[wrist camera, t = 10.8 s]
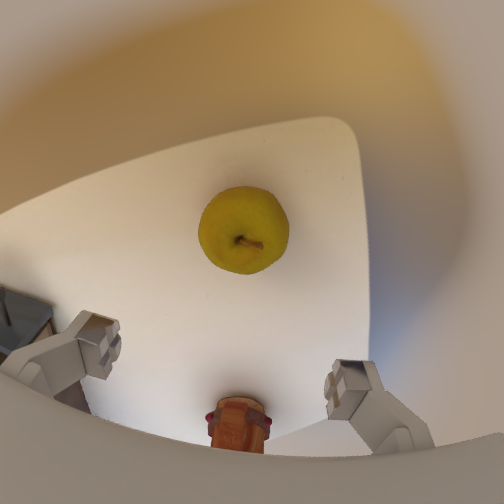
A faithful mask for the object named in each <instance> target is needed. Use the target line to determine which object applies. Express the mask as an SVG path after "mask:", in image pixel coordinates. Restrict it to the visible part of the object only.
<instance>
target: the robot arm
mask: <svg viewBox="0 0 504 504" xmlns="http://www.w3.org/2000/svg"><path fill="white" fill-rule="evenodd" d="M119 330H120V324H119V321H118V320H116V319H113V318H109V317H106V316H103V315H99V314H96V313H92V312H89V311H86V310H83V311H81V312H80V313H79V315H78V316H77V317H76V318H75V319H74V321H73V322H72V323H71V324H70V325H69V327H68V328H67V329H66V330H65V332H64V333H63V334H61V333H58V334H56V335H53V336H50V337H48V338H45V339H43V340H40V341H37V342H35V343H32V344H30V345H27V346H25V347H22V348H19V349H17V350H14V351H12V352H11V354H10V355H9V356H8V357H7V359H6V360H5V361H4V362H3V363H2V365H1V366H0V504H504V434H503V433H493V434H490V435H486V436H482V437H479V438H475V439H472V440H467V441H463V442H459V443H454V444H449V445H444V446H439V447H435V445H434V443H433V440H432V437H431V434H430V431H429V429H428V426H427V424H426V423H424V422H423V421H422V420H421V419H420V418H419V417H418V416H416V415H415V414H414V413H413V412H412V411H410V410H409V409H408V408H407V407H406V406H405V405H404V404H402V403H401V402H400V401H399V400H398V399H397V398H395V397H394V396H393V395H392V394H391V393H390V392H388V391H384V388H383V385H382V383H381V380H380V377H379V374H378V371H377V369H376V366H375V363H374V362H373V361H358V360H344V359H336V360H335V361H334V363H333V365H332V369H333V371H332V372H331V373H329V374H328V376H327V378H326V380H325V385H324V395H325V398H326V399H327V400H328V401H329V402H328V404H327V405H326V408H327V414H328V419H331V420H349V423H350V424H351V425H352V426H353V428H354V429H355V430H356V431H357V433H358V434H359V435H360V436H361V438H362V439H363V440H364V441H365V443H366V444H367V445H368V446H369V448H370V449H371V450H372V451H373V453H372V455H367V456H348V457H347V456H346V457H304V456H283V455H269V454H259V453H249V452H241V451H233V450H226V449H220V448H214V447H208V446H203V445H197V444H192V443H187V442H183V441H178V440H174V439H170V438H165V437H161V436H158V435H154V434H150V433H146V432H143V431H139V430H136V429H132V428H129V427H126V426H123V425H119V424H116V423H113V422H110V421H107V420H105V419H102V418H99V417H96V416H93V415H91V414H88V413H85V412H83V411H80V410H78V409H75V408H73V407H70V406H68V405H66V404H63V403H61V402H59V401H56V400H55V399H54V397H53V396H54V395H56V394H58V393H59V392H61V391H62V390H64V389H66V388H67V387H69V386H70V385H72V384H73V383H75V382H77V381H78V380H80V379H81V378H83V377H85V376H86V374H87V375H90V376H94V377H97V378H100V379H103V380H106V379H107V377H108V375H109V374H110V372H111V370H112V362H114V361H116V360H117V359H118V357H119V354H120V351H121V344H122V342H121V337H120V335H119V334H118V331H119Z"/></svg>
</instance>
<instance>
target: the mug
mask: <svg viewBox="0 0 504 504" xmlns="http://www.w3.org/2000/svg"><path fill="white" fill-rule="evenodd" d="M205 419H206V421H207V422H209V423H208V435H209V436H210V437H212V441H211V447H214V448H220V449H226V450H233V451H241V452H249V453H259V454H264V441H265V440H267V439H269V434H270V425H271V424H272V419H271V418H269V417H267V416H266V415H265V414H264V409H263V406H262V405H261V404H260V403H258V402H256V401H254V400H252V399H249V398H243V397H230V398H225V399H222V400H220V401H219V402H218V405H217V407H216V410H215V411H213V412H211V413H208V414H207V415H206V416H205Z"/></svg>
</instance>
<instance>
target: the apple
mask: <svg viewBox="0 0 504 504" xmlns="http://www.w3.org/2000/svg"><path fill="white" fill-rule="evenodd" d="M198 237H199V242H200V245H201V247H202V249H203V251H204V253H205V254H206V256H207V257H208V258H209V260H210V261H211V262H212V263H213V264H215V265H216V266H218V267H220V268H221V269H224V270H227V271H230V272H234V273H238V274H245V275H248V274H254V273H257V272H259V271H261V270H264V269H265V268H267V267H268V266H270V265H271V264H273V263H274V262H275V261H277V260H278V259H279V258H280V257H281V256H282V255H283V254H284V252H285V250H286V247H287V243H288V237H289V223H288V219H287V217H286V215H285V213H284V210H283V209H282V207H281V205H280V204H279V202H278V200H277V199H276V198H275V196H274V195H273V194H271V193H270V192H268V191H265V190H262V189H259V188H255V187H248V186H244V187H236V188H231V189H227V190H225V191H223V192H221V193H219V194H218V195H217V196H215V197H214V198H213V199H212V200H211V201H210V203H209V204H208V205H207V207H206V208H205V210H204V212H203V214H202V217H201V221H200V224H199V230H198Z"/></svg>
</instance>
